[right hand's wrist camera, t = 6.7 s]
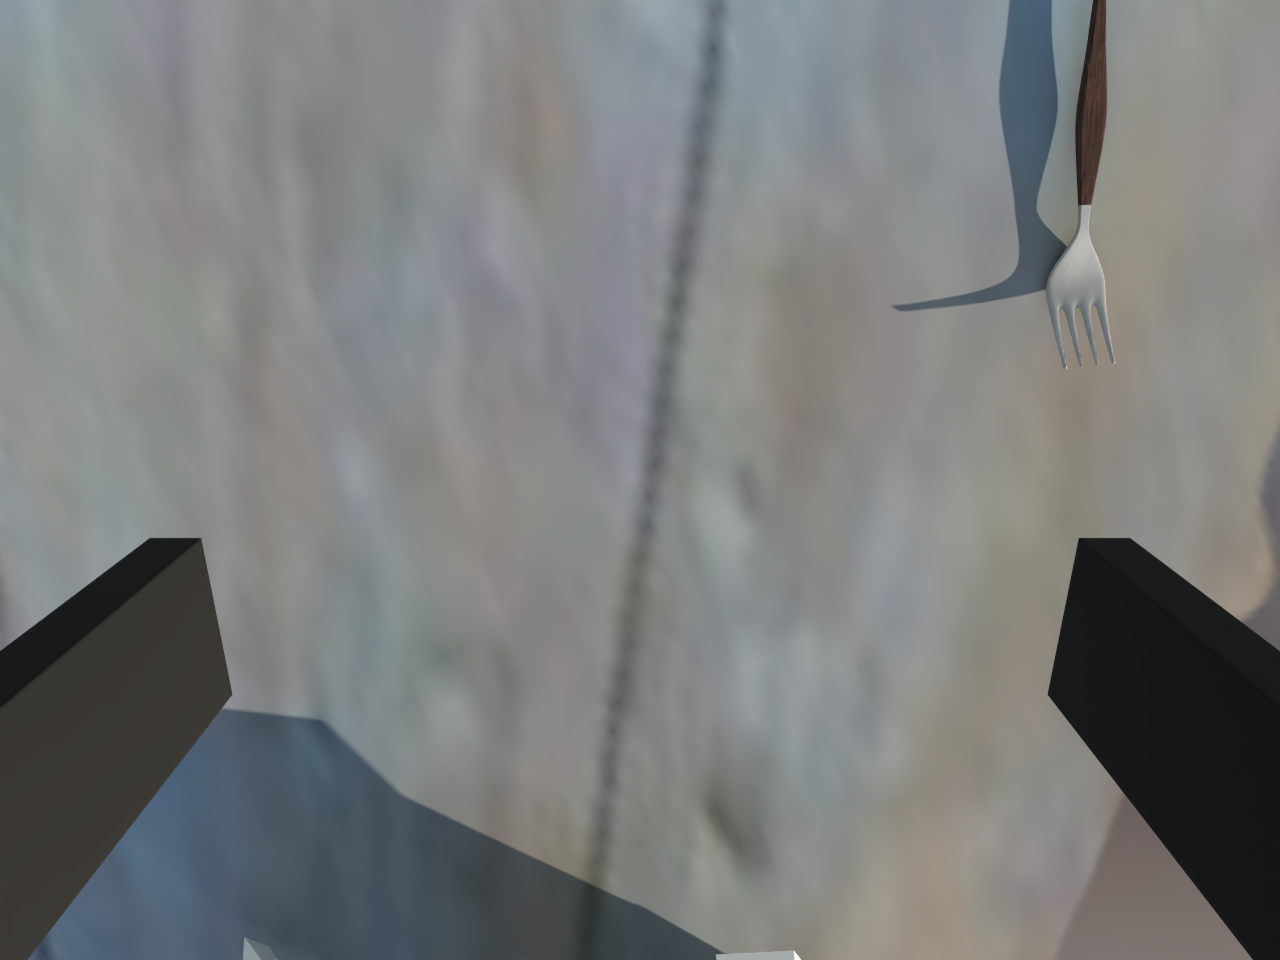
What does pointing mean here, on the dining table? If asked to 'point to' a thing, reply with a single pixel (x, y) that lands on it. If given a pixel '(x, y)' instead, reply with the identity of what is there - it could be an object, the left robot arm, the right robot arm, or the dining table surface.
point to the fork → (1084, 202)
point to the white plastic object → (260, 956)
